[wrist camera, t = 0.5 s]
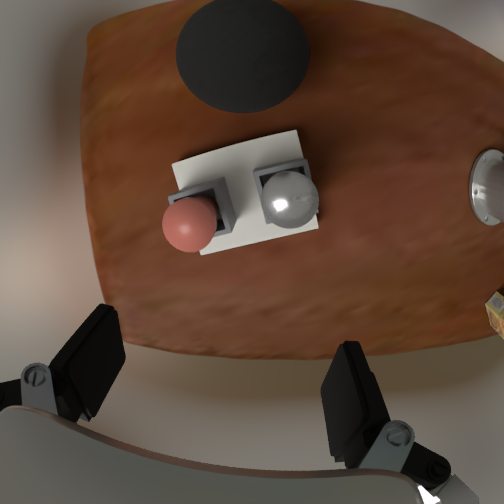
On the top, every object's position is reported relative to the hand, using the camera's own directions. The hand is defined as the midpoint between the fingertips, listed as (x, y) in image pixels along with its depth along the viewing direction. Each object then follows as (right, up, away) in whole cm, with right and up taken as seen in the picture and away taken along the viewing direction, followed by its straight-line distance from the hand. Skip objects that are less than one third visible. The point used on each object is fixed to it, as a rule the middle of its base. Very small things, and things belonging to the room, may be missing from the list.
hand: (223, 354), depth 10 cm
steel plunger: (+5, +11, +17) cm, 21 cm away
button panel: (+1, +11, +23) cm, 25 cm away
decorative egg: (+1, +26, +17) cm, 31 cm away
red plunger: (-4, +9, +18) cm, 21 cm away
